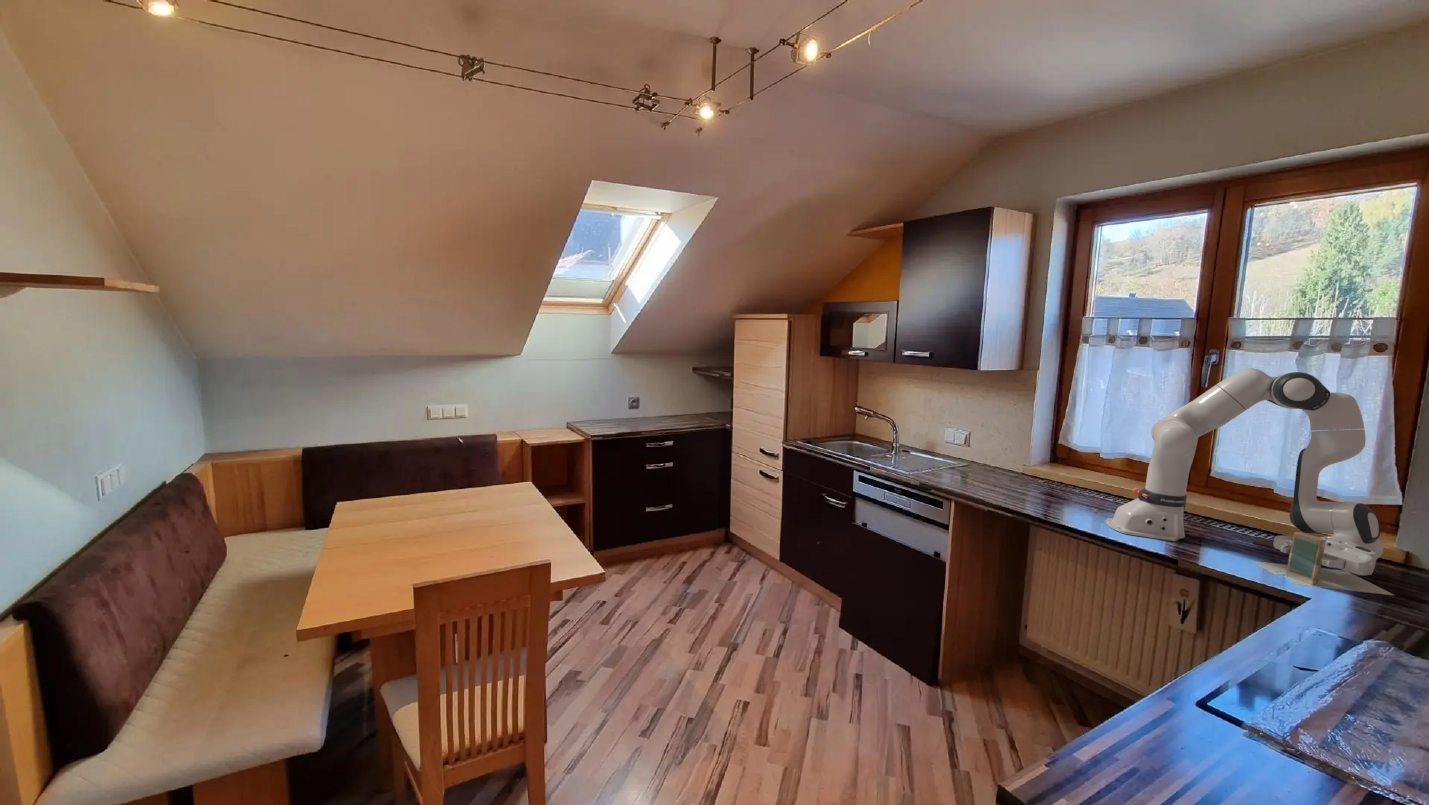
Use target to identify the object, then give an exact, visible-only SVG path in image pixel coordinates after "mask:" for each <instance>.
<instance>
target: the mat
mask: <svg viewBox="0 0 1429 805" xmlns="http://www.w3.org/2000/svg"><path fill="white" fill-rule="evenodd" d="M1252 562H1253V563H1254V564H1256V565H1257V566H1260V567H1261V568H1263V569H1264V570H1266V571H1268V572H1270V573H1271V574H1274V575H1275V574H1286V571H1287V566H1288V564H1286V563H1285V564H1284V563H1275V562H1267V561H1266V562H1264V561H1255V560H1252ZM1277 571H1278V572H1277ZM1280 571H1281V572H1280ZM1282 577H1283V576H1282ZM1284 577H1287V576H1286V575H1285V576H1284ZM1287 580H1288V579H1287ZM1289 580H1293V582H1291V583H1299V584H1296V586H1303V585H1304V586H1305V587H1312V588H1313V587H1315V588H1323V589H1333V590H1341V591H1342V590H1343V591H1351V592H1358V593H1359V592H1360V593H1361V592H1363V593H1370V594H1378V595H1387V596H1388V595H1389V596H1394V594H1393V593H1392V592H1389V591H1387V590H1386V589H1383V588H1381V587H1380V586H1377V585H1376V584H1373V583H1371V582H1369V581H1368V580H1366V579H1363V578H1362V577H1359V575H1357V574H1354V573H1351V572H1348V571H1345V570H1342V569H1335V568H1325V567H1324V568H1323V567H1321V569H1320V574H1319V579H1318V584H1316V585H1310V584H1307V583H1304V582H1301V581H1298V580H1296V581H1294V580H1295V579H1293V578H1290V579H1289Z"/></svg>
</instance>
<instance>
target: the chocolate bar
mask: <svg viewBox="0 0 1429 805" xmlns="http://www.w3.org/2000/svg"><path fill="white" fill-rule="evenodd" d="M1273 543H1274V539H1270V538H1266V537H1261V536H1259V537H1258V538H1256V540H1254V542H1253V543H1252V545H1256V546H1259V545H1260V547H1263V546H1264V548H1268V549H1271V548H1275V547H1274V546H1273ZM1275 549H1276V548H1275ZM1275 549H1274V550H1275Z"/></svg>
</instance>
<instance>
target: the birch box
mask: <svg viewBox="0 0 1429 805" xmlns="http://www.w3.org/2000/svg"><path fill="white" fill-rule="evenodd" d="M1292 536H1293V540H1292V545H1291V550H1290V553H1289V556H1288V560H1287V565H1288V566H1287V571H1286V576H1287V577H1290V578H1293V579H1295V580H1298V581H1301V582H1304V583H1307V584H1310V585H1316V584H1318V579H1319V574H1320V569H1321V568H1322V559H1323V554H1324V549H1325V544H1326V539H1322V538H1321V537H1319V536H1315V535H1311V534H1310V533H1304V532H1302V531H1296V532H1293V535H1292Z"/></svg>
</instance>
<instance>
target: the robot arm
mask: <svg viewBox="0 0 1429 805" xmlns="http://www.w3.org/2000/svg"><path fill="white" fill-rule="evenodd" d="M1263 401H1267V402H1269V403H1272V404H1273V405H1276V406H1279V407H1280V408H1284V409H1290V410H1301V411H1303V412H1304V413H1305V414H1307V417H1308V419H1309V423H1310V438H1309V439H1310V440H1309V442H1308V444H1307V446H1306V447H1305V448H1303V449H1301V450H1300V452H1299V454H1298V458H1297V461H1296V462H1297V463H1296V469H1295V470H1296V471H1295V479H1294V487H1293V488H1294V489H1293V496H1292V497H1293V498H1292V502H1291V505H1290V508H1289V521H1290V523H1292V525H1293V526H1294V527H1295V528H1296V529H1298V530H1299V531H1300V532H1302V533H1305V534H1318V535H1319V534H1321V535H1322V534H1325V535H1328V536H1322V537H1320V538H1322V539H1326V544H1325V549H1324V554H1323V559H1322V564H1321V566H1324V567H1327V568H1329V569H1337V570H1344V571H1348V572H1350V573H1352V574H1354V575H1356V576H1370V575H1373V572H1374V570H1375V567H1376V563H1377V560H1378V559H1379V558H1380V557H1381V556H1382V554H1383V553H1384V545H1383V543H1382V541H1381V540H1380V539H1379V537H1380V536H1381V530H1382V529H1381V523H1380V518H1379V516H1378V515H1377V514H1376V513H1375V511H1373V509H1371V508H1370V507H1369V506H1367V504H1364V503H1361V502H1349V501H1348V502H1346V501H1326V500H1325V501H1323V500H1318V499H1317V496H1318V495H1317V494H1318V486H1319V485H1318V484H1319V478H1320V477H1319V476H1320V473H1321V472H1322V471H1323V470H1324V469H1325V468H1327V467H1329V466H1331V465H1334V464H1338V463H1341V462H1345V461H1347V460H1350V459H1352V458H1354V457H1355V456H1358V455H1359V454H1360V453H1361V452H1362V451H1363V450H1364V448H1365V446H1366V441H1367V440H1366V431H1365V423H1364V420H1363V415H1362V412H1361V408H1360V406H1359V403H1358V402H1357V399H1356V398H1355V397H1354V396H1352V395H1351V394H1347V393H1345V392H1331V391H1330V390H1329V389H1328V388H1327V387H1326V386H1325V385H1324V384H1323V383H1322V382H1321V381H1320V380H1319V379H1318V378H1317V377H1316V376H1314V375H1312V374H1310V373H1307V372H1302V371H1293V372H1287V373H1285V374H1281V375H1277V376H1270V375H1268V374H1267V373H1266V372H1264V371H1263V370H1261V369H1258V368H1253V367H1247V368H1244V369H1242V370H1239V371H1237V372H1235V373H1233V374H1231V375H1229V376H1228V377H1225V378H1224V379H1223V380H1221V381H1220V382H1218V383H1216V384H1214V386H1212V387H1210V388H1209V389H1208V390H1206V391H1205V392H1203V393H1202V394H1201V395H1199V396H1198V397H1196V398H1194V399H1193V400H1192V401H1190V402H1189V403H1186V404H1184V405H1183V406H1181V407H1179V408H1178V409H1176V410H1174V411H1173V412H1171V413H1169V414H1168V415H1166V416H1164V417H1162V418H1161V419H1159V420H1158V421H1157V422H1155V423H1154V424H1153V426H1152V427H1151V433H1150V434H1151V438H1152V440H1153V449H1152V454H1151V457H1150V461H1149V464H1148V468H1147V474H1146V479H1145V487H1144V488H1142V489H1139V488H1138V487H1134V488H1132V490H1131V492H1132V493H1133V494H1135V495H1138V496H1137V498H1135V499H1133V500H1131V501H1129V502H1126V503H1124V504H1122V505H1119V506H1118V507H1117V509H1116V510H1115V512H1114V514H1113V518H1112V517H1111V518H1109V517H1107V518H1106V519H1105V524H1106V525H1107V526H1108V527H1110V528H1111V529H1113V530H1115V531H1116V532H1119V533H1121V534H1125V535H1130V536H1131V535H1132V536H1137V537H1144V538H1150V539H1157V540H1163V541H1170V542H1171V541H1172V542H1177V541H1178V540H1180V539H1184V538H1186V533H1185V529H1184V511H1185V509H1186V505H1187V498H1188V496H1187V486H1188V482H1189V477H1190V476H1189V475H1190V472H1191V471H1190V470H1191V468H1192V464H1193V460H1194V457H1195V454H1196V450H1197V445H1198V441H1199V438H1200V437H1202V436H1204V435H1206V434H1208V433H1209V432H1212V431H1214V430H1216V429H1219V428H1221V427H1223V426H1225V425H1227V424H1228V423H1229V422H1231V421H1232V420H1234V419H1236V418H1237V417H1239V415H1241V414H1243V413H1244V412H1245V411H1247V410H1249V409H1250V408H1251V407H1253V406H1255V405H1256V404H1258V403H1260V402H1263ZM1273 540H1274V543H1273V546H1274V547H1275V548H1276V549H1279V550H1280V551H1279V550H1278V551H1279V552H1281V553H1284V554H1290V550H1291V545H1292V540H1293V535H1276V536H1275V537H1274V539H1273Z"/></svg>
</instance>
